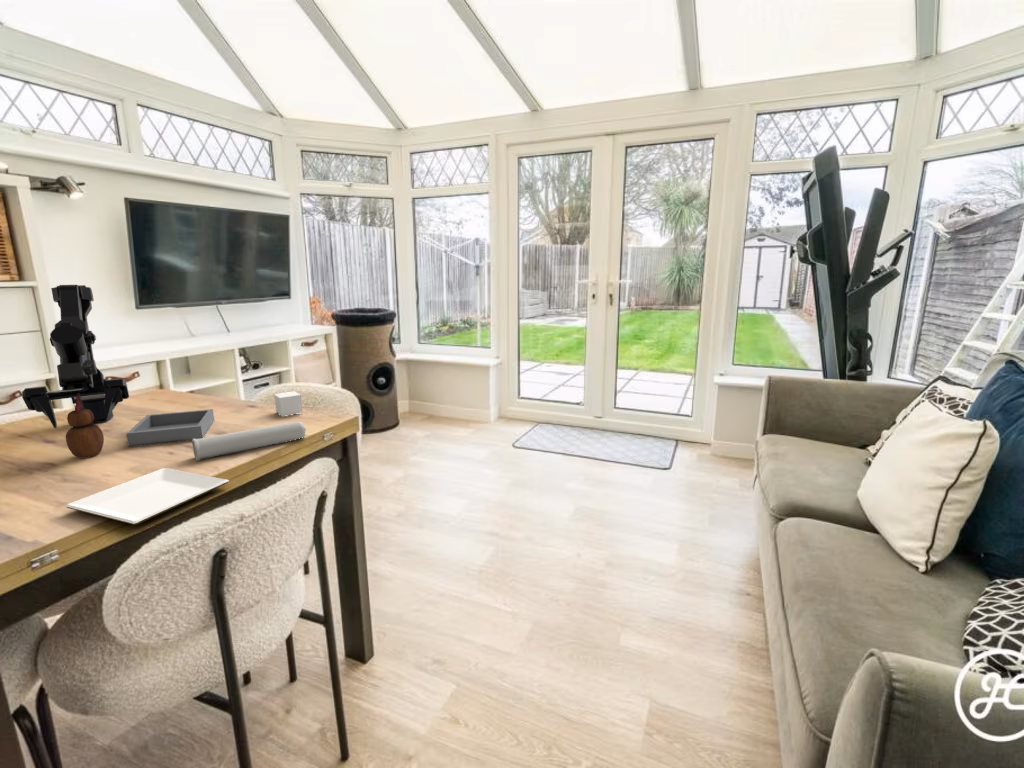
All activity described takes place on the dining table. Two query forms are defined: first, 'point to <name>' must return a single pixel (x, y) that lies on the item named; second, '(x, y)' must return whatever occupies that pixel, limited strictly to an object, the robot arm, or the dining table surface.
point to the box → (170, 427)
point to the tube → (246, 440)
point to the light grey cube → (288, 403)
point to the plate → (147, 495)
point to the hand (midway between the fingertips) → (81, 423)
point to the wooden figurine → (83, 432)
